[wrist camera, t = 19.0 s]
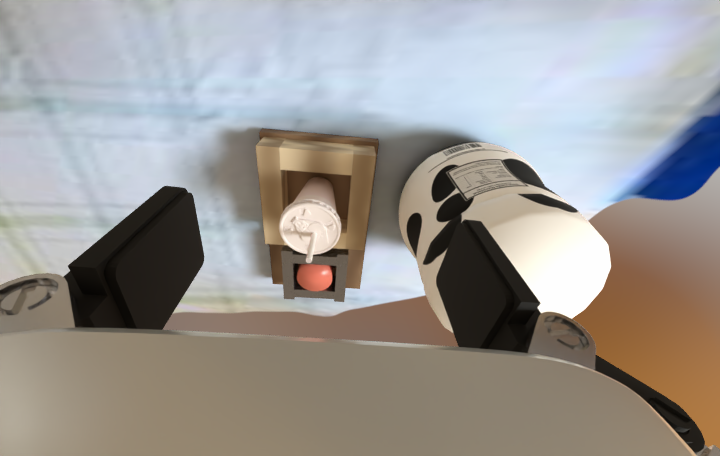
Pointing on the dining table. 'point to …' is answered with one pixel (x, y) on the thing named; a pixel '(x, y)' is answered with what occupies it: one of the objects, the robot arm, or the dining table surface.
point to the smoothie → (311, 219)
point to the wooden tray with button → (351, 192)
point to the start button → (315, 276)
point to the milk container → (502, 225)
